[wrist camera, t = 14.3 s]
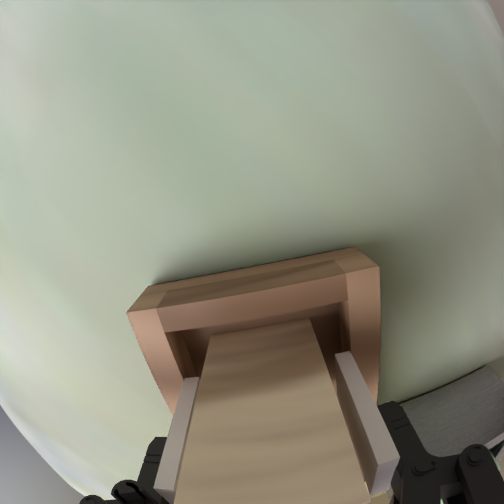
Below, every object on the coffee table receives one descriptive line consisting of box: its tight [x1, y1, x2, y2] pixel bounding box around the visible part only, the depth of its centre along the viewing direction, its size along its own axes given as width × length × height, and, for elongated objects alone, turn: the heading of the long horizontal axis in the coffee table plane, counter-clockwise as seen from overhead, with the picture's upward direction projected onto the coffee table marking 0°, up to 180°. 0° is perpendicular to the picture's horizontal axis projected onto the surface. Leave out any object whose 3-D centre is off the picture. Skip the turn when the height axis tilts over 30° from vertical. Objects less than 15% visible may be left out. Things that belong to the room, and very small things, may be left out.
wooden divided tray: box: [126, 247, 381, 482], centre depth 16 cm, size 20×11×3 cm, turn 11°
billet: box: [174, 317, 370, 504], centre depth 10 cm, size 5×5×10 cm
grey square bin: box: [386, 365, 504, 501], centre depth 15 cm, size 10×10×7 cm
